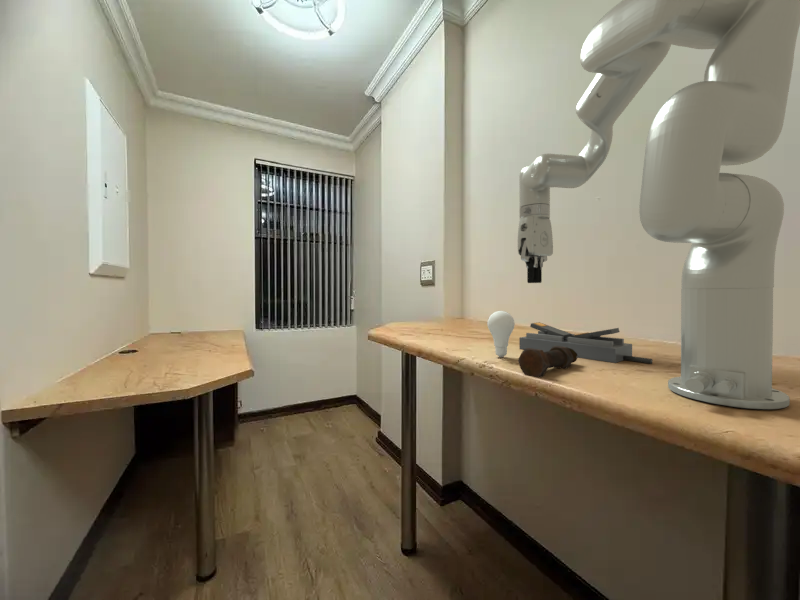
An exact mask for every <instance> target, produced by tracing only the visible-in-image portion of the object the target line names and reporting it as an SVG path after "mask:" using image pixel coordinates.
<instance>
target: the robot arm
mask: <svg viewBox="0 0 800 600" xmlns="http://www.w3.org/2000/svg"><path fill="white" fill-rule="evenodd" d="M799 30H800V0H621V1H619V2H618V3H617V4H616V5H615V6H613V7H612V8H611V9H609V10H608V11H607V12H606V13H605V14H604V15H603V16H602V17H601V18H600V19H599V20H598V21H597V23H595V25H594V26H593V27H592V29H591V30H590V31H589V32H588V35H587V36H586V37H585V40H584V42H583V44H582V46H581V47H582V48H581V50H580V55H579V59H580V66H581V67H582V69H584V70H585V71H586V72H588V73H592V74H593V73H594V74H595V75H594V77H593V79H592V81H591V82H590V83H589V84H588V86H587V88H586V89H585V91H584V92H583V94H582V96H581V97H580V98H579V100H578V102H577V104H576V106H575V114H576V115H577V117H578V119H579V120H580V121H581V122H582V124H584V125H585V126H587V128H589V129H590V130H591V132H590V133H591V134H590V136H589V139H588V141H587V143H586V145H584V147H583V148H582V150H581V151H580V152H579V153H578V154H577V155H570V154H562V153H561V154H555V153H543V154H540V155H539V156H537V157H536V158H535V159H534V160H533V161H532V163H531V164H530V165H527V166H524V167H523V168H522V169H521V170H520V171H519V221H518V230H517V254H518V255H519V256H520V260H521V261H522V262H525V267H526V270H527V272H526V273H527V274H526V275H527V277H526V278H527V283H528V284H541V283H542V277H543V276H542V275H543V274H542V271H543V270H542V268H543V266H544V263H545V262H547V261H548V257H550V256H552V255H553V254H554V240H553V239H554V238H553V227H552V222H551V219H550V217H551V209H550V207H551V188H562V189H576V188H579V187H581V186H583V185H584V184H586V183H587V182H588V181H589V180H590V179H591V178H592V177H593V176H594V174H596V172H597V171H598V169H599V168H601V167H602V165H603V164H604V162H605V161H606V158H608V157H607V156H609V155H608V154H609V152H610V149H611V146H612V142H613V136H614V135H613V134H614V131H613V128H614V124H615V123H616V121H617V120H618V119H619V117H621V115H622V114H623V112H624V111H625V110H626V109H627V107H628V106H629V105H630V104H631V102H632V101H633V100H634V98H635V97H636V95H637V94H638V93H639V91H641V89H642V88H644V86H645V84H646V83H647V82H648V80H649V79H650V77H652V75H653V74H654V72H656V70H657V69H658V67H659V66H660V65H661V63H662V62H663V61H664V60H665V58H666V56H667V55H668V53H669V51H670V49H671V46H678V47H684V48H691V49H695V50H713V52H712V54H711V55H710V57H709V60H708V62H707V64H706V68H705V70H704V75H703V80H701V81H697V82H694V83H691V84H688V85H685V86H684V87H682V88H681V89H679V90H678V91H676V92H675V93H673V94H672V95H671V96H670V97H669V98H668V99H667V100H666V101H665V102H664V103H663V105H662V106H661V107H660V108H659V110H658V111H657V113H656V115H655V116H654V118H653V120H652V122H651V125H650V127H649V130H648V132H647V137H646V143H645V150H644V161H643V168H642V179H641V187H640V199H639V204H638V205H639V209H638V211H639V212H638V213H639V221H640V223H641V226H642V228H643V230H644V231H645V232H646V234H647V235H648V236H650V237H651V238H652V239H656V241H657V240H658V241H661V242H665V243H677V244H678V243H679V244H691V246H690V248H689V251H688V253H687V255H686V258H685V261H684V263H683V267H682V272H681V288H680V289H681V290H680V376H675V377H671V378H670V379H668V381H667V386H668V387H667V388H668V389H669V390H670V391H672V392H674V393H675V394H678V395H679V396H683V397H686V398H689V399H691V400H696V401H700V402H704V403H708V404H714V405H720V406H727V407H731V408H733V407H734V408H741V409H748V410H749V409H751V410H778V409H780V410H781V409H784V408H787V407H789V406H790V404H791V403H790V396H789V395H788V394H786V393H785V392H783V391H781V390H778V389H775V388H773V343H774V342H773V341H774V340H773V338H774V337H773V336H774V335H773V334H774V333H773V331H774V327H773V325H774V324H773V323H774V287H775V260H776V253H777V252H776V251H777V245H778V240H779V235H780V232H781V227H782V224H783V219H784V214H785V203H784V199H783V196H782V194H781V193H780V191H779V189H778V188H777V187H776V186H775V185H773V184H772V183H771V182H769V181H767V180H766V179H763V178H760V177H758V176H754V175H749V174H741V173H740V174H738V173H729V172H720V171H721V166H722V167H723V166H726V167H727V166H739V165H743V164H748V163H751V162H754V161H756V160H758V159H759V158H761V157H762V156H765V154H767V153H768V152H769V151H771V149H772V148H773V146H775V144H776V143H777V141H778V140H779V137H780V135H781V134H782V133H781V132H782V130H783V127H784V121H785V117H786V108H787V105H788V104H787V103H788V96H789V92H790V85H791V80H792V72H793V68H794V60H795V59H794V58H795V50H796V44H797V38H798V33H799Z"/></svg>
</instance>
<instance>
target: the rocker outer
mask: <svg viewBox="0 0 800 600" xmlns="http://www.w3.org/2000/svg"><path fill="white" fill-rule="evenodd" d="M529 327H530V328H532V329H535V330H536V331H542V332H544V333H545V334H550V335H555V336H563V339H565V338H568V337H571V334H572V333H571V332H569V331H565V330H562V329H560V328H556V327H553V326H551V325H548V324H546V323H542V322H540V321H539V322H532V323H530V326H529Z"/></svg>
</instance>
